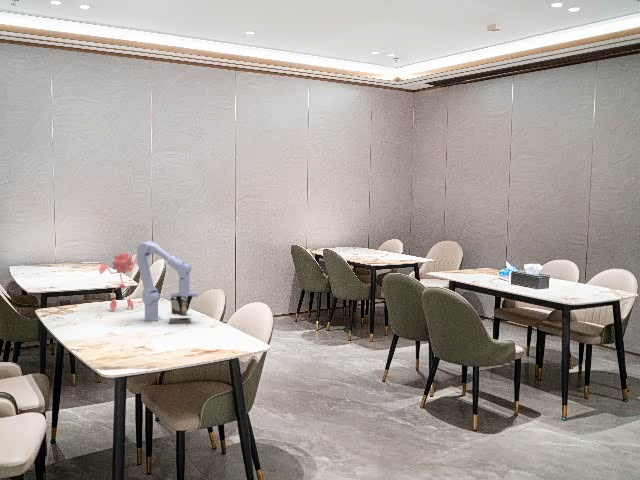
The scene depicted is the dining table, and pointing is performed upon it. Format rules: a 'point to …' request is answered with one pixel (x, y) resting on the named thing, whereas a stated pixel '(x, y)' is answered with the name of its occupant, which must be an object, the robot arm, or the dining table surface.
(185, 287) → the robot arm
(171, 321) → the plate
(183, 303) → the peg
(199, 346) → the dining table surface
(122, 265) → the figurine
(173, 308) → the food container
